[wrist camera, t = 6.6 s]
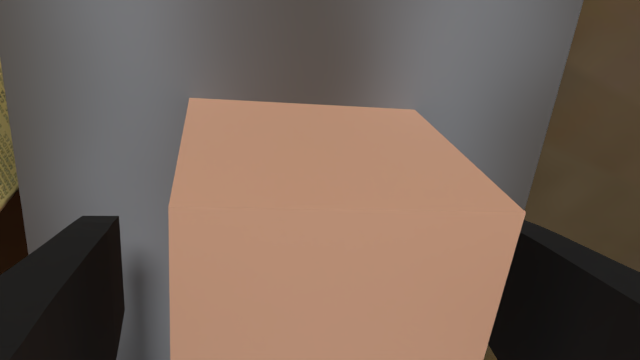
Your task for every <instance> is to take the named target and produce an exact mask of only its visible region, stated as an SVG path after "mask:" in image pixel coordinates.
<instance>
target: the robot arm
mask: <svg viewBox="0 0 640 360" xmlns="http://www.w3.org/2000/svg"><path fill="white" fill-rule="evenodd" d="M124 312H125V304H124V288H123V272H122V256H121V240H120V224H119V216H82V217H80V218H78V219H77V220H75V221H74V222H73V223H71V224H70V225H68V226H67V227H66V228H64V229H63V230H62V231H60V232H59V233H58V234H56V235H55V236H54V237H52V238H51V239H50V240H48V241H47V242H46V243H44V244H43V245H42V246H40V247H39V248H38V249H36V250H35V251H33V252H32V253H31V254H29V255H28V256H27V257H25V258H24V259H22V260H21V261H20V262H18V263H17V264H16V265H14V266H13V267H11V268H10V269H9V270H7V271H6V272H4V273H3V274H1V275H0V360H116V358H117V352H118V347H119V342H120V336H121V330H122V324H123V318H124ZM488 344H489V346H490V348H491V349H492V351H493V353H494V355H495V356H496V358H497V360H640V272H638V271H636V270H633V269H631V268H629V267H627V266H625V265H623V264H620V263H618V262H616V261H614V260H612V259H610V258H608V257H606V256H603V255H601V254H599V253H597V252H595V251H593V250H591V249H589V248H587V247H585V246H582V245H580V244H578V243H576V242H574V241H572V240H570V239H568V238H565V237H563V236H561V235H559V234H557V233H555V232H552V231H550V230H548V229H545V228H543V227H541V226H538V225H536V224H533V223H531V222H528V221H525V220H524V221H523V224H522V228H521V231H520V234H519V238H518V241H517V245H516V248H515V252H514V255H513V259H512V262H511V266H510V269H509V273H508V276H507V279H506V283H505V286H504V290H503V293H502V297H501V300H500V304H499V307H498V311H497V314H496V318H495V321H494V325H493V328H492V331H491V335H490V338H489V342H488Z"/></svg>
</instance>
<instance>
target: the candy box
mask: <svg viewBox="0 0 640 360" xmlns="http://www.w3.org/2000/svg"><path fill="white" fill-rule="evenodd" d="M18 190H19V186H18V179H17V172H16V165H15V158H14V151H13V144H12V137H11V130H10V123H9V116H8V109H7V102H6V95H5V89H4V82H3V75H2V68H1V61H0V212H1V210H2V209H3V208H4V207H5V205H6V204H7V203H8V202H9V200H10V199H11V198H12V197H13V196H14V195H15V193H16V192H17V191H18Z"/></svg>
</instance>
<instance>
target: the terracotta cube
mask: <svg viewBox="0 0 640 360" xmlns="http://www.w3.org/2000/svg"><path fill="white" fill-rule="evenodd" d="M525 214H526V212H525V211H524V210H523V209H522V208H521V207H520V206H518V205H517V204H516V203H515V202H514V201H513V200H512V199H511V198H510V197H509V196H508V195H507V194H506V193H504V192H503V191H502V190H501V189H500V188H499V187H498V186H497V185H496V184H495V183H494V182H493V181H491V180H490V179H489V178H488V177H487V176H486V175H485V174H484V173H483V172H482V171H481V170H480V169H478V168H477V167H476V166H475V165H474V164H473V163H472V162H471V161H470V160H469V159H468V158H467V157H465V156H464V155H463V154H462V153H461V152H460V151H459V150H458V149H457V148H456V147H455V146H454V145H453V144H451V143H450V142H449V141H448V140H447V139H446V138H445V137H444V136H443V135H442V134H441V133H440V132H438V131H437V130H436V129H435V128H434V127H433V126H432V125H431V124H430V123H429V122H428V121H427V120H425V119H424V118H423V117H422V116H421V115H420V114H419V113H418V112H417V111H416V110H412V109H394V108H375V107H356V106H337V105H318V104H299V103H280V102H261V101H242V100H223V99H204V98H189V102H188V108H187V113H186V118H185V123H184V128H183V134H182V139H181V144H180V149H179V154H178V159H177V165H176V170H175V175H174V180H173V185H172V191H171V196H170V201H169V206H168V219H169V293H170V360H483V359H484V356H485V352H486V349H487V345H488V342H489V338H490V335H491V331H492V328H493V325H494V321H495V318H496V314H497V311H498V307H499V304H500V300H501V297H502V293H503V290H504V286H505V283H506V279H507V276H508V273H509V269H510V266H511V262H512V259H513V255H514V252H515V248H516V245H517V241H518V238H519V234H520V231H521V228H522V224H523V221H524V217H525Z"/></svg>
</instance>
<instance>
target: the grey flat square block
mask: <svg viewBox="0 0 640 360" xmlns="http://www.w3.org/2000/svg"><path fill="white" fill-rule="evenodd" d="M582 4H583V0H0V61H1V68H2V75H3V82H4V89H5V95H6V102H7V109H8V116H9V123H10V130H11V137H12V144H13V151H14V158H15V165H16V172H17V179H18V186H19V193H20V199H21V206H22V213H23V220H24V227H25V234H26V241H27V248H28V255H29V254H31V253H32V252H33V251H35V250H36V249H38V248H39V247H40V246H42V245H43V244H44V243H46V242H47V241H48V240H50V239H51V238H52V237H54V236H55V235H56V234H58V233H59V232H60V231H62V230H63V229H64V228H66V227H67V226H68V225H70V224H71V223H73V222H74V221H75V220H77V219H78V218H80V217H82V216H119V224H120V240H121V256H122V272H123V288H124V304H125V312H124V318H123V324H122V330H121V336H120V342H119V347H118V352H117V358H116V360H170V293H169V219H168V206H169V201H170V196H171V191H172V185H173V180H174V175H175V170H176V165H177V159H178V154H179V149H180V144H181V139H182V134H183V128H184V123H185V118H186V113H187V108H188V102H189V98H204V99H223V100H242V101H261V102H280V103H299V104H318V105H337V106H356V107H375V108H394V109H412V110H416V111H417V112H418V113H419V114H420V115H421V116H422V117H423V118H424V119H425V120H427V121H428V122H429V123H430V124H431V125H432V126H433V127H434V128H435V129H436V130H437V131H438V132H440V133H441V134H442V135H443V136H444V137H445V138H446V139H447V140H448V141H449V142H450V143H451V144H453V145H454V146H455V147H456V148H457V149H458V150H459V151H460V152H461V153H462V154H463V155H464V156H465V157H467V158H468V159H469V160H470V161H471V162H472V163H473V164H474V165H475V166H476V167H477V168H478V169H480V170H481V171H482V172H483V173H484V174H485V175H486V176H487V177H488V178H489V179H490V180H491V181H493V182H494V183H495V184H496V185H497V186H498V187H499V188H500V189H501V190H502V191H503V192H504V193H506V194H507V195H508V196H509V197H510V198H511V199H512V200H513V201H514V202H515V203H516V204H517V205H518V206H520V207H521V208H522V209H523V210H525V207H526V203H527V199H528V196H529V192H530V189H531V185H532V182H533V178H534V175H535V171H536V167H537V164H538V160H539V157H540V153H541V150H542V146H543V143H544V139H545V135H546V132H547V128H548V125H549V121H550V118H551V114H552V110H553V107H554V103H555V100H556V96H557V93H558V89H559V86H560V82H561V78H562V75H563V71H564V68H565V64H566V61H567V57H568V53H569V50H570V46H571V43H572V39H573V36H574V32H575V29H576V25H577V21H578V18H579V14H580V11H581V7H582Z"/></svg>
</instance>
